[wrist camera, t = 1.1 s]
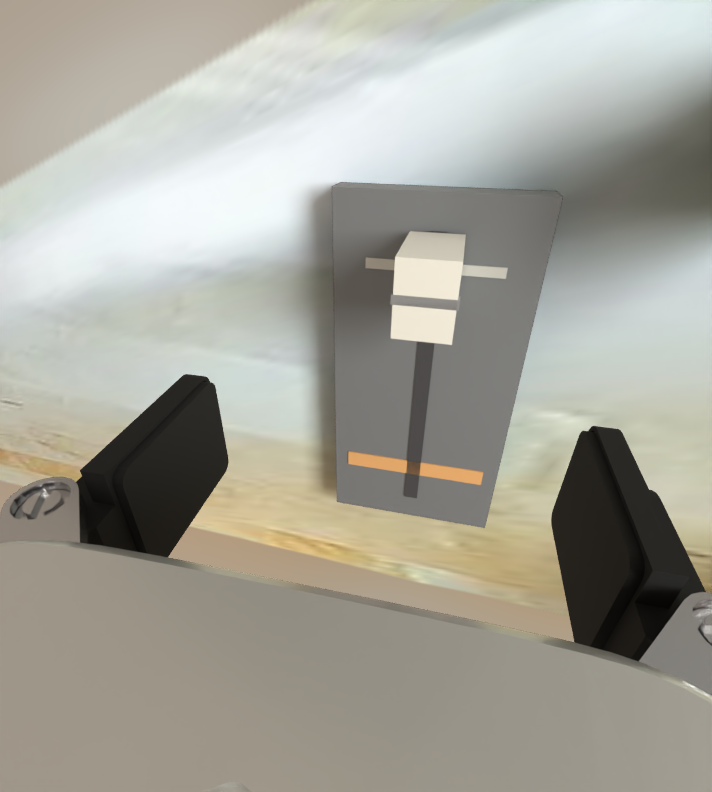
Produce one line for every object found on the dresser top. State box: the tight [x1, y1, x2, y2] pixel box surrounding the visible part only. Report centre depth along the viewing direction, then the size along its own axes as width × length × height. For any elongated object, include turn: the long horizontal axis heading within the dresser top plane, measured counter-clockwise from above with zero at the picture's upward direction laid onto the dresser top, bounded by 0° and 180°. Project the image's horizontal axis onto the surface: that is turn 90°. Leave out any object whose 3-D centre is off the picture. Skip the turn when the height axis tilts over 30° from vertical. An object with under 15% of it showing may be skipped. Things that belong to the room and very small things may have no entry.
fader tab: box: [390, 231, 466, 345], centre depth 23 cm, size 3×4×5 cm
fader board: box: [332, 182, 563, 528], centre depth 31 cm, size 12×24×2 cm, turn 179°
